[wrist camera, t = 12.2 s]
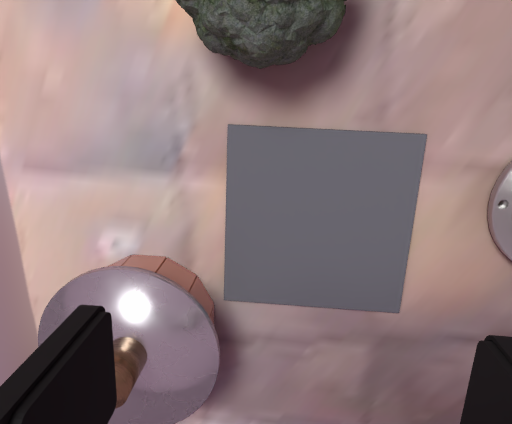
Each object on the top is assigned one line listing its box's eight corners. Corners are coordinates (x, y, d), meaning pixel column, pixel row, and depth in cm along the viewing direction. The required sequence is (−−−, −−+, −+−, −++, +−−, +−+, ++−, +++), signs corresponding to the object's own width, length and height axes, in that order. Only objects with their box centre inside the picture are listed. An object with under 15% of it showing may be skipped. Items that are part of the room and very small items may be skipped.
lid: (221, 272, 35) (209, 304, 29) (219, 430, 39) (208, 481, 34) (33, 260, 36) (-10, 288, 30) (52, 415, 40) (18, 462, 35)
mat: (425, 134, 36) (427, 134, 36) (398, 310, 41) (399, 313, 40) (228, 124, 37) (227, 124, 37) (224, 298, 42) (223, 300, 42)
